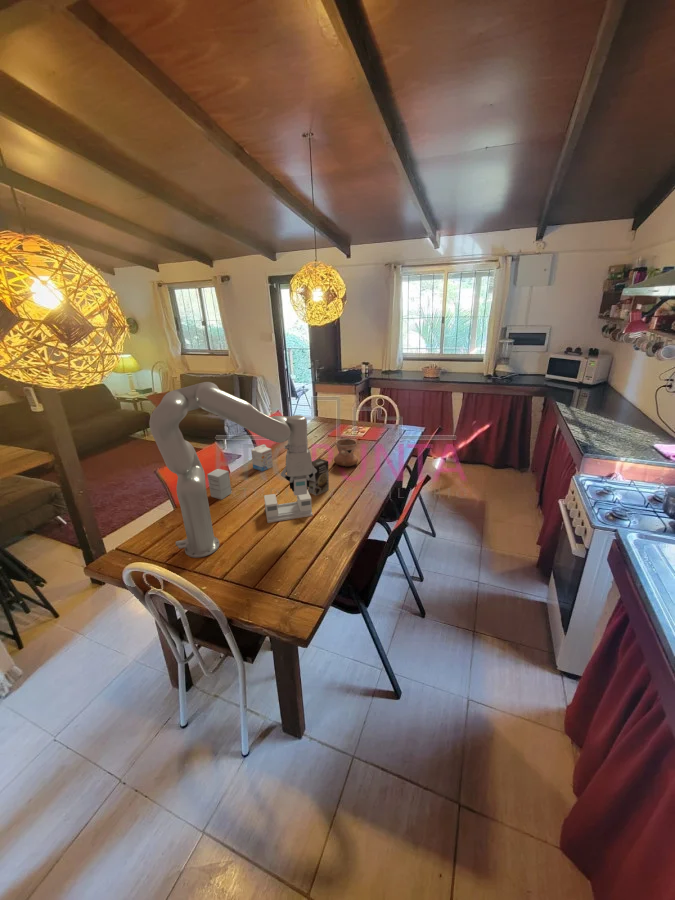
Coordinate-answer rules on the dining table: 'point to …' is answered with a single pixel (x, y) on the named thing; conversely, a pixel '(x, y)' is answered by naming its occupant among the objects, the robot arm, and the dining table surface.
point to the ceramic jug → (346, 452)
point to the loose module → (300, 485)
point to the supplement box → (219, 483)
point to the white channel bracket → (287, 508)
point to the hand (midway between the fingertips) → (299, 488)
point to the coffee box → (319, 477)
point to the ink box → (262, 458)
